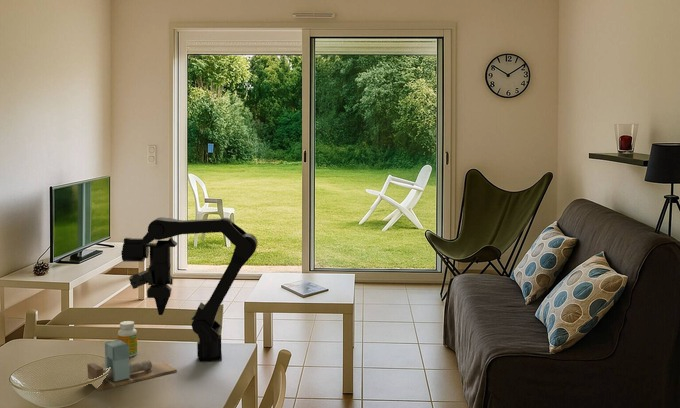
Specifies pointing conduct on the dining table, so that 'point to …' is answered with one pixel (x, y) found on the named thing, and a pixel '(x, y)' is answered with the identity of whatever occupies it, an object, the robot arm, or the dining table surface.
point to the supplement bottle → (128, 336)
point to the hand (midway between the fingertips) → (160, 314)
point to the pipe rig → (136, 373)
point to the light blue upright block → (117, 359)
